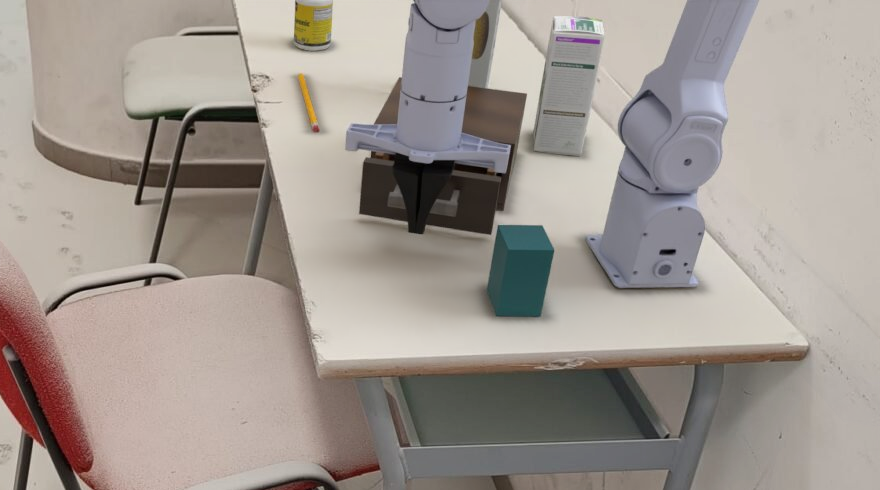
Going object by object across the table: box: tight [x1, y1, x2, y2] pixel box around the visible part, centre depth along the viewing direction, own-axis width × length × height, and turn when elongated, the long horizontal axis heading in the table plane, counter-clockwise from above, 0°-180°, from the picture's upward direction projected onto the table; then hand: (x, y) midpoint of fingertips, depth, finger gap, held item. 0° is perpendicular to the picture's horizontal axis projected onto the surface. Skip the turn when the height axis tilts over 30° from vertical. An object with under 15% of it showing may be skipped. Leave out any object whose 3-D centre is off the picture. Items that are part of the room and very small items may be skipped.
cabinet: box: [370, 76, 528, 212], centre depth 111 cm, size 15×15×8 cm
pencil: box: [297, 73, 320, 133], centre depth 129 cm, size 1×18×1 cm, turn 5°
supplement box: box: [468, 0, 503, 89], centre depth 126 cm, size 10×9×17 cm
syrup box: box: [532, 15, 606, 157], centre depth 116 cm, size 6×6×14 cm
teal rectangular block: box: [486, 224, 555, 317], centre depth 89 cm, size 4×4×7 cm
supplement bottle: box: [293, 0, 334, 52], centre depth 144 cm, size 5×5×10 cm
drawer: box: [358, 152, 501, 236], centre depth 103 cm, size 18×13×6 cm
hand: (417, 228), depth 95 cm, fingers closed, pressing on drawer
